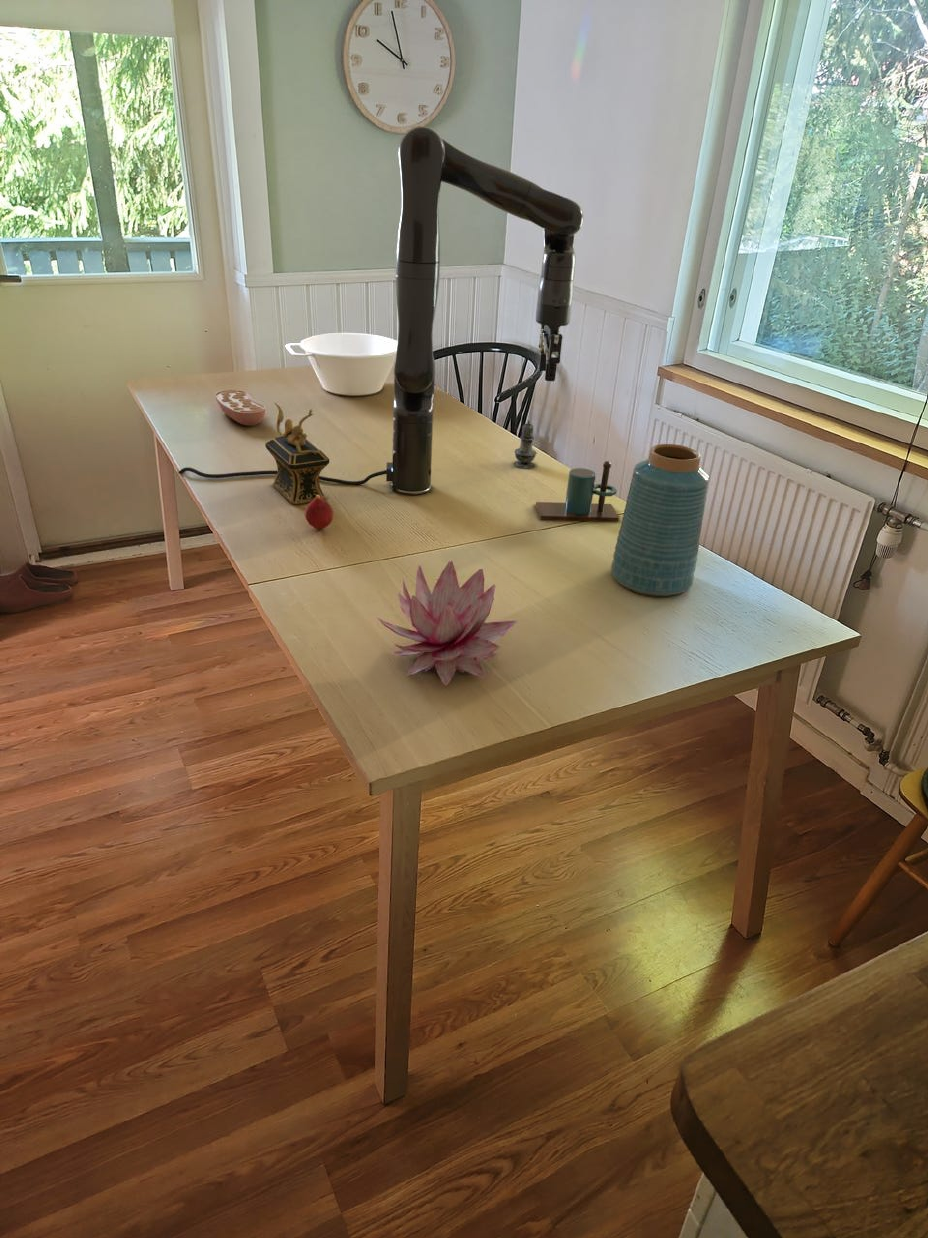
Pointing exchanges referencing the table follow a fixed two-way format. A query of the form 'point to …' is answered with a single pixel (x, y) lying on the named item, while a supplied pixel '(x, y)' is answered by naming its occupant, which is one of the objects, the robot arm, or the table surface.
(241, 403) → the anatomical model
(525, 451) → the grey chess piece
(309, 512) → the onion
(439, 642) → the decorative flower
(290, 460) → the decorative box
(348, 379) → the pot
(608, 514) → the mug stand
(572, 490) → the mug
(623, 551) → the vase
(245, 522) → the table surface
